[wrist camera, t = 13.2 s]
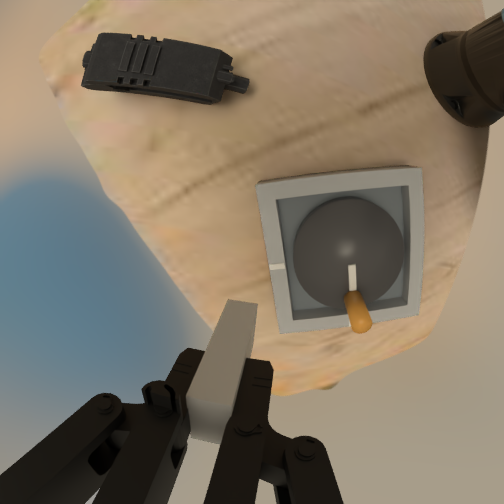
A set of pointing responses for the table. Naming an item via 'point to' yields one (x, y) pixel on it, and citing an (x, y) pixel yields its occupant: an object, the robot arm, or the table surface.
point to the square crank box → (312, 195)
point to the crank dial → (348, 256)
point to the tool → (159, 68)
